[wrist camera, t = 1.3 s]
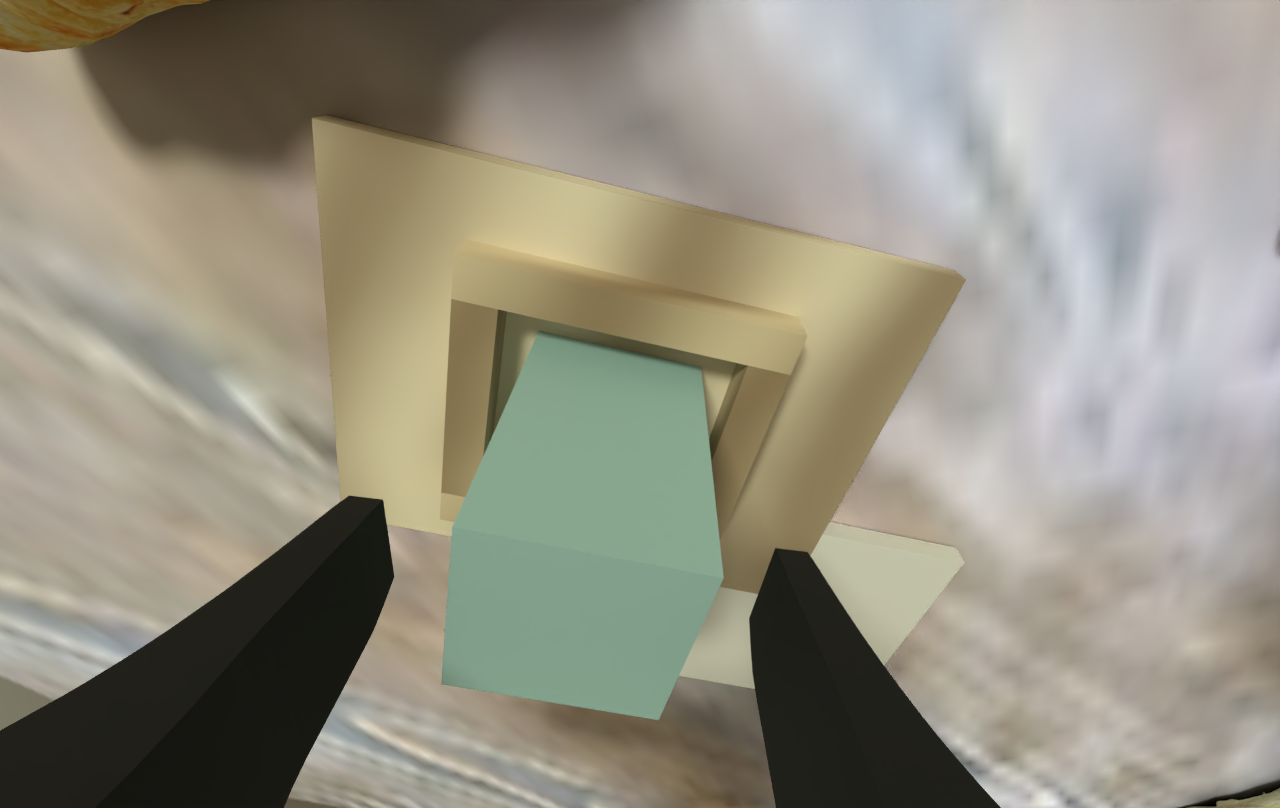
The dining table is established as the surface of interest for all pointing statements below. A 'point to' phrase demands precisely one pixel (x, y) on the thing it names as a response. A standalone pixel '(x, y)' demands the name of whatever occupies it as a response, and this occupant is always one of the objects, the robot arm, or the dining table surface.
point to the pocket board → (600, 328)
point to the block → (586, 534)
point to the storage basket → (1251, 802)
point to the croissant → (71, 21)
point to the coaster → (862, 581)
